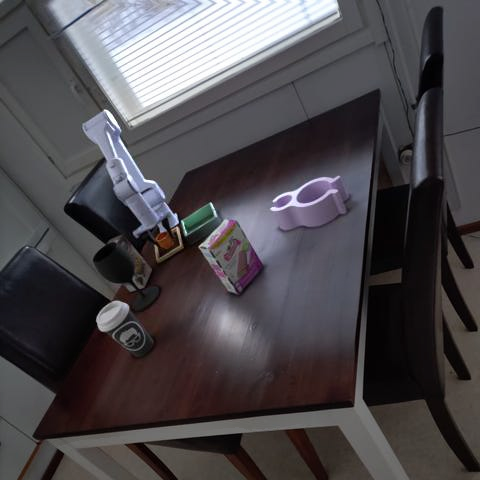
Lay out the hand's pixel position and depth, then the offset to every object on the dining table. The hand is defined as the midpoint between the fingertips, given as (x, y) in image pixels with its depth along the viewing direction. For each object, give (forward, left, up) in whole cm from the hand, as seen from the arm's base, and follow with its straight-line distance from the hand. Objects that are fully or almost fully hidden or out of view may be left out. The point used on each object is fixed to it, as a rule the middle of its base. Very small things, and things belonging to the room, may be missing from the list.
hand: (166, 242), depth 158 cm
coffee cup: (+46, -14, -2) cm, 48 cm away
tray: (0, 0, -2) cm, 2 cm away
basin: (+2, +14, -2) cm, 14 cm away
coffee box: (+11, -13, -2) cm, 17 cm away
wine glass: (+23, -12, -2) cm, 26 cm away
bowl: (0, 0, -2) cm, 2 cm away
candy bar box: (+43, +20, -2) cm, 48 cm away
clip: (+32, +45, -2) cm, 55 cm away
